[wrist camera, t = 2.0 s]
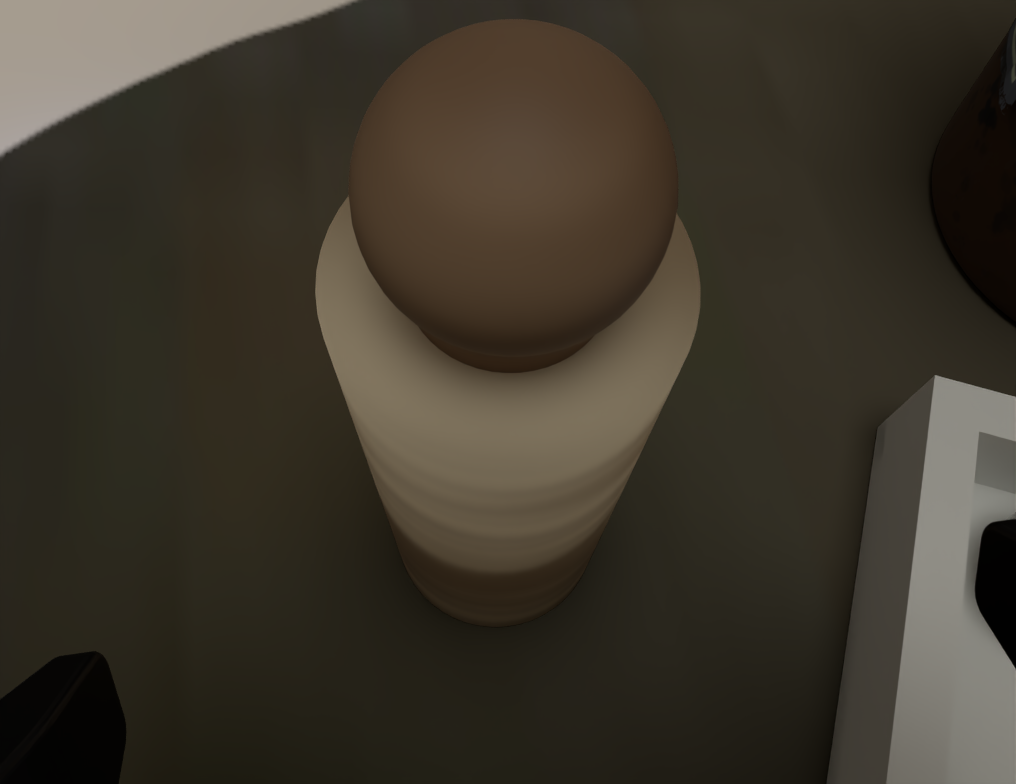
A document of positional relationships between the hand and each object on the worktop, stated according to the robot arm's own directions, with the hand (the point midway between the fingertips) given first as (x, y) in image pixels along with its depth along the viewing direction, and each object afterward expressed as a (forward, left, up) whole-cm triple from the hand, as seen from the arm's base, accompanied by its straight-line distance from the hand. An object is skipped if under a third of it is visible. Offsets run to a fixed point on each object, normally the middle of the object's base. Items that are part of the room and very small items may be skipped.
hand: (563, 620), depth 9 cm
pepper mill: (+4, +2, -11) cm, 11 cm away
